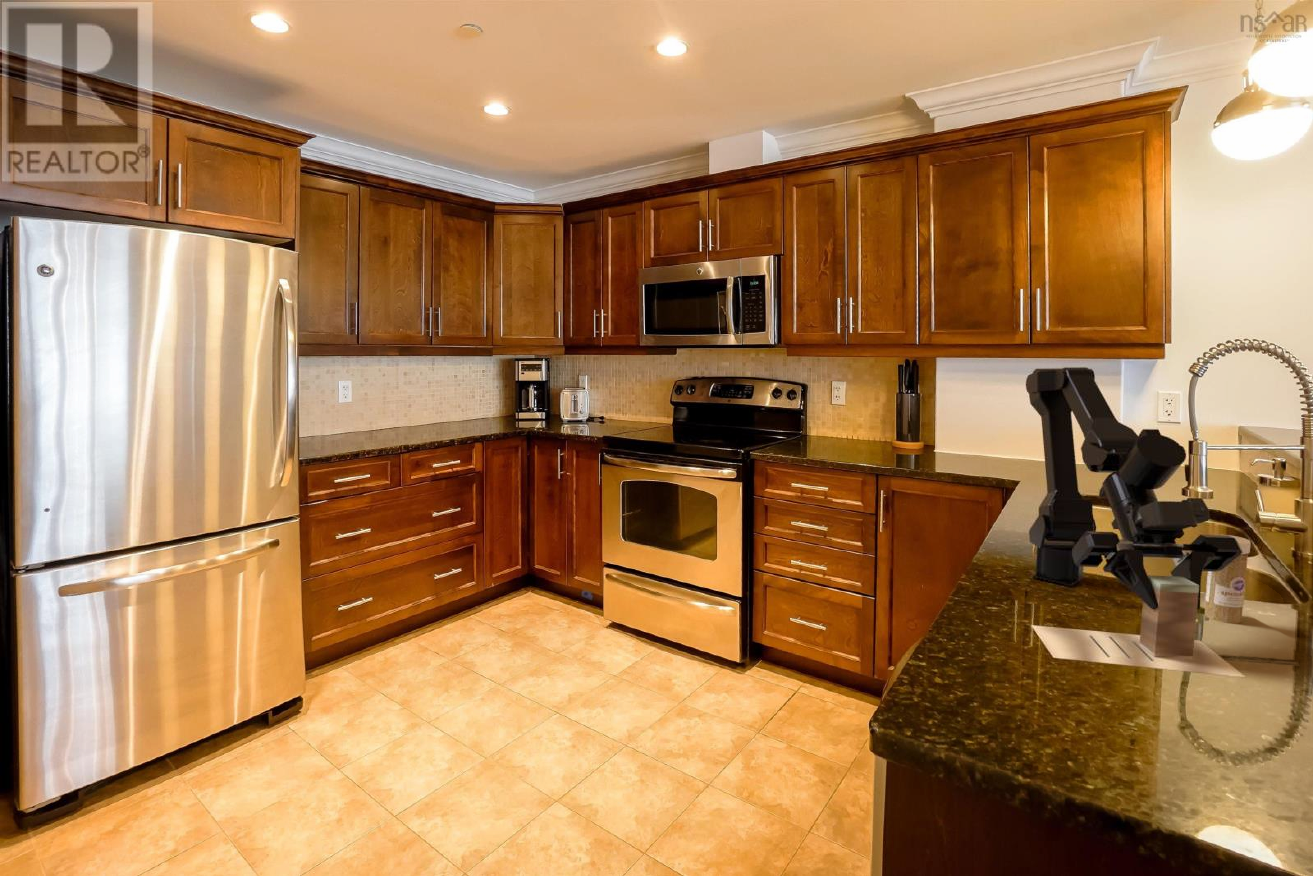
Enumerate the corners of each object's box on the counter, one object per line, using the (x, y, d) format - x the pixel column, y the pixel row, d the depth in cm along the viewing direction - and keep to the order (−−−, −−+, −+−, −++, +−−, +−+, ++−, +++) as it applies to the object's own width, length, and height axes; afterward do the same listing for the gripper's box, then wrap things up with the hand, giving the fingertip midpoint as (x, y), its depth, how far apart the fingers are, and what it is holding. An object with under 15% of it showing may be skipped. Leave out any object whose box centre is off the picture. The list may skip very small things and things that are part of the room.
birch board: (1053, 664, 87) (1053, 657, 87) (1031, 631, 97) (1031, 625, 97) (1244, 685, 81) (1245, 677, 81) (1199, 647, 92) (1200, 640, 91)
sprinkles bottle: (1228, 631, 97) (1237, 543, 95) (1195, 620, 101) (1202, 535, 99) (1249, 627, 98) (1258, 540, 96) (1216, 616, 102) (1224, 532, 101)
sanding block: (1154, 657, 87) (1160, 583, 85) (1139, 645, 90) (1145, 575, 89) (1192, 659, 86) (1199, 585, 85) (1175, 647, 89) (1182, 576, 88)
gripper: (1086, 474, 91) (1124, 578, 81) (1239, 477, 88) (1296, 585, 78) (1058, 516, 99) (1088, 615, 90) (1196, 520, 96) (1242, 622, 87)
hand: (1175, 609), depth 86 cm, fingers closed on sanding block, 4 cm apart
